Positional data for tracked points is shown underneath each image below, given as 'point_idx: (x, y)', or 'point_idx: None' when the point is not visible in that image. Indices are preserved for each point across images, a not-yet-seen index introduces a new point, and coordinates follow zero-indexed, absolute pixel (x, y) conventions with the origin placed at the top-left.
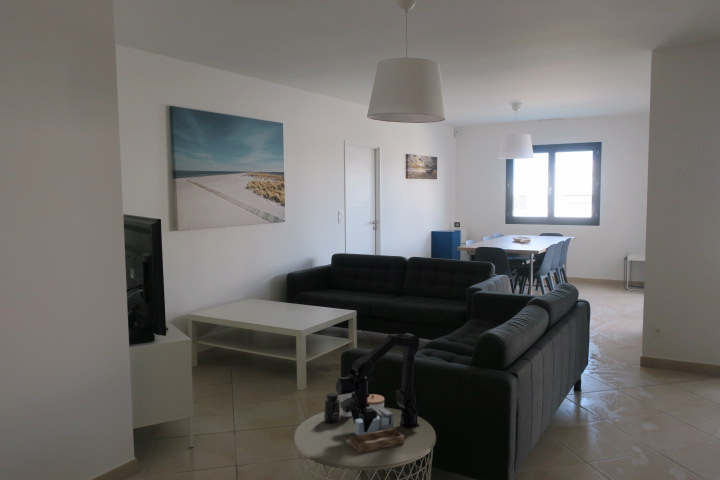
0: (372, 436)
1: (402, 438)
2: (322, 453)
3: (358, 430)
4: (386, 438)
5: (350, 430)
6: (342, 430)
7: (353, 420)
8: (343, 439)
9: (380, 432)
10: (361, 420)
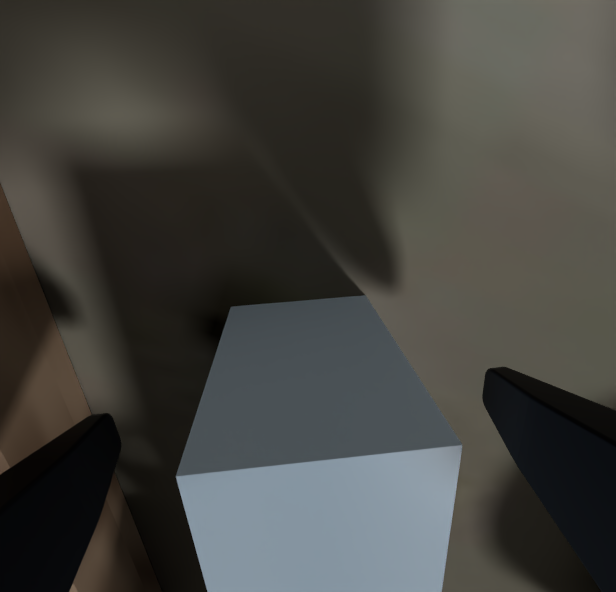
0: None
1: None
2: None
3: (239, 347)
4: None
5: (471, 268)
6: (535, 153)
7: (561, 392)
8: (196, 19)
9: None
10: (320, 556)
